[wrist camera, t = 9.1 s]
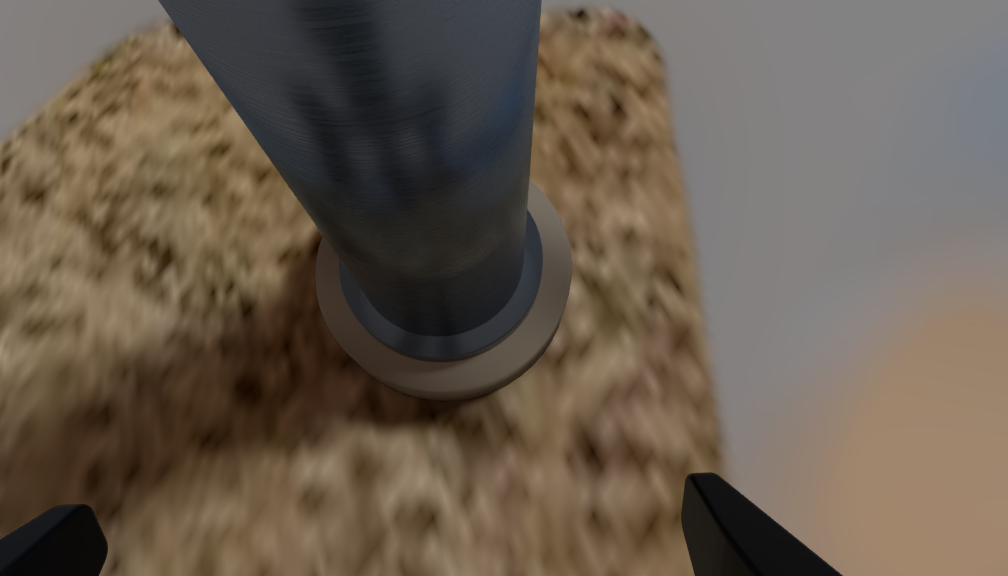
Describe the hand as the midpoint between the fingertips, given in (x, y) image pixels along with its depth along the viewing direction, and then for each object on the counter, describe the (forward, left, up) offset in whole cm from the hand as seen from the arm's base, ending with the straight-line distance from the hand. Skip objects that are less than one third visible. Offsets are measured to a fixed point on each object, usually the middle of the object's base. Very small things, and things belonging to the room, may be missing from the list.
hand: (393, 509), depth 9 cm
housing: (+7, +2, -8) cm, 11 cm away
